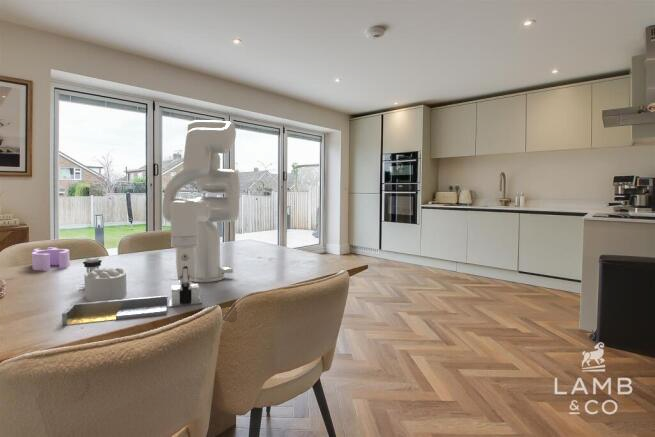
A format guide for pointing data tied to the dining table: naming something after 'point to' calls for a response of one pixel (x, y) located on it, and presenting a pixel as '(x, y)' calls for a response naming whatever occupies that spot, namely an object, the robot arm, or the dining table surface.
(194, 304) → the tab
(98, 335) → the dining table surface
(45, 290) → the dining table surface
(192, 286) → the clip block
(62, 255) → the purple lobed block
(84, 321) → the rail
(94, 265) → the push button
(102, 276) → the lumpy-topped squat cylinder
